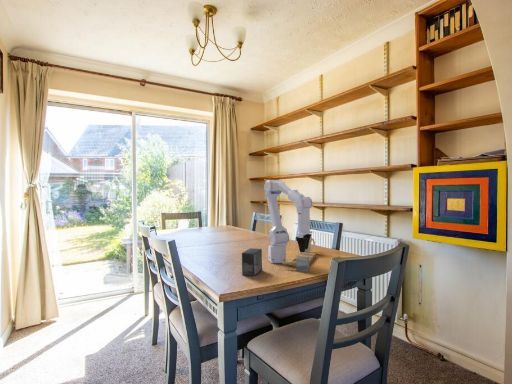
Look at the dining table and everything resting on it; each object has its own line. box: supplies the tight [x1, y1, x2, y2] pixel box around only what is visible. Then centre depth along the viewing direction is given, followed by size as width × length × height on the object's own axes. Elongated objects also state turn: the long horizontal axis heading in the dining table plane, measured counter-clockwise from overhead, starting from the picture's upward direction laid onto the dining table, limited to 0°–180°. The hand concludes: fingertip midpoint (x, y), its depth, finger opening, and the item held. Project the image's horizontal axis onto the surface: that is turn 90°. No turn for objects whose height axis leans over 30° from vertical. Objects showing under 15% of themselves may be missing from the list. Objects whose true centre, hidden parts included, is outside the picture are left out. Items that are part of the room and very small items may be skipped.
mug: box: [297, 235, 316, 254], centre depth 175 cm, size 8×13×10 cm, turn 127°
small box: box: [241, 247, 263, 277], centre depth 135 cm, size 11×6×10 cm, turn 159°
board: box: [290, 252, 316, 268], centre depth 154 cm, size 24×8×2 cm, turn 158°
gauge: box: [281, 257, 310, 273], centre depth 139 cm, size 4×12×6 cm, turn 68°
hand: (303, 250), depth 138 cm, fingers open, 7 cm apart
